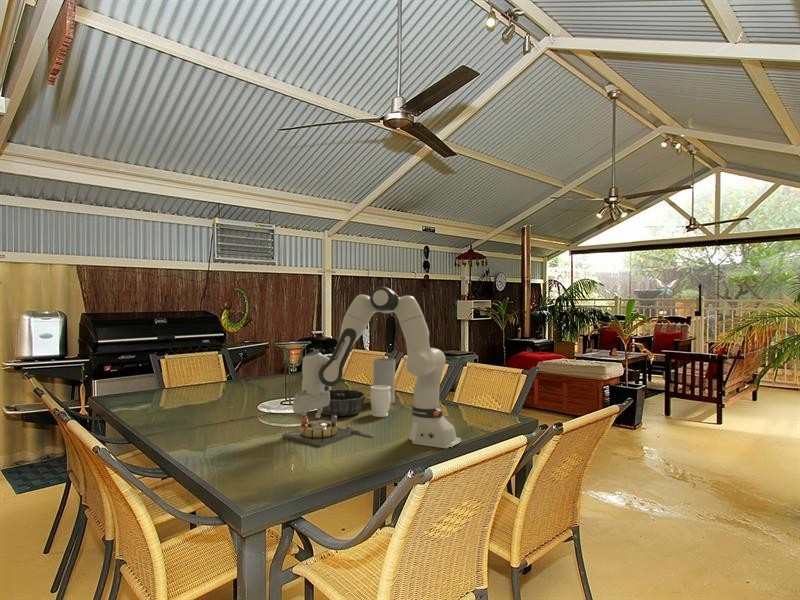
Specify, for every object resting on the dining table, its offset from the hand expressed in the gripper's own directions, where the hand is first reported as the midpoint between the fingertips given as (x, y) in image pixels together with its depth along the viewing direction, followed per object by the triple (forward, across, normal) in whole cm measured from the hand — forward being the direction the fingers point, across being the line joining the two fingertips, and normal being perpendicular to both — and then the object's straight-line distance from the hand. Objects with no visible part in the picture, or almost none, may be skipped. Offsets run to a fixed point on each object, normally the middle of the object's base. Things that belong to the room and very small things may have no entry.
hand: (311, 419), depth 212 cm
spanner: (+6, +12, -19) cm, 23 cm away
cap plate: (+6, -1, -6) cm, 8 cm away
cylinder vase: (+7, +71, +10) cm, 72 cm away
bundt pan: (+7, +37, +14) cm, 40 cm away
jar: (+7, +45, -6) cm, 46 cm away
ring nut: (+4, -1, -6) cm, 7 cm away
